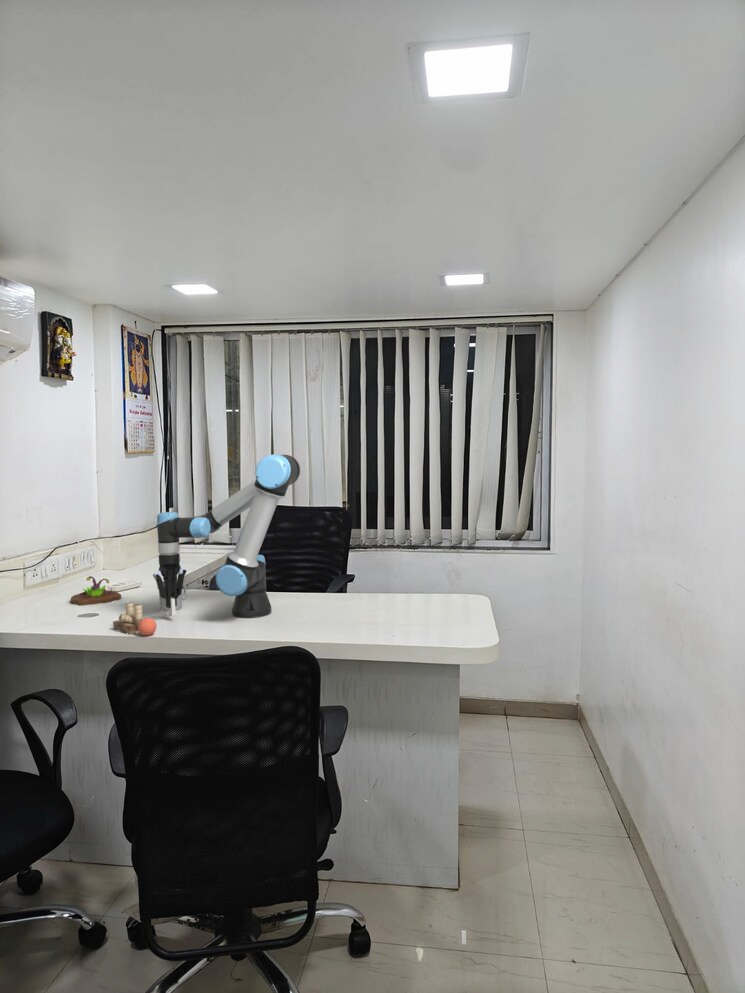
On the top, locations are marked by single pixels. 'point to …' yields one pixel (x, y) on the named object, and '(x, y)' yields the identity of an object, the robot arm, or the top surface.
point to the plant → (95, 594)
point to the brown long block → (124, 627)
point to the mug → (163, 600)
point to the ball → (147, 626)
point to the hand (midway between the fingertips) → (171, 615)
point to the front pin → (127, 619)
